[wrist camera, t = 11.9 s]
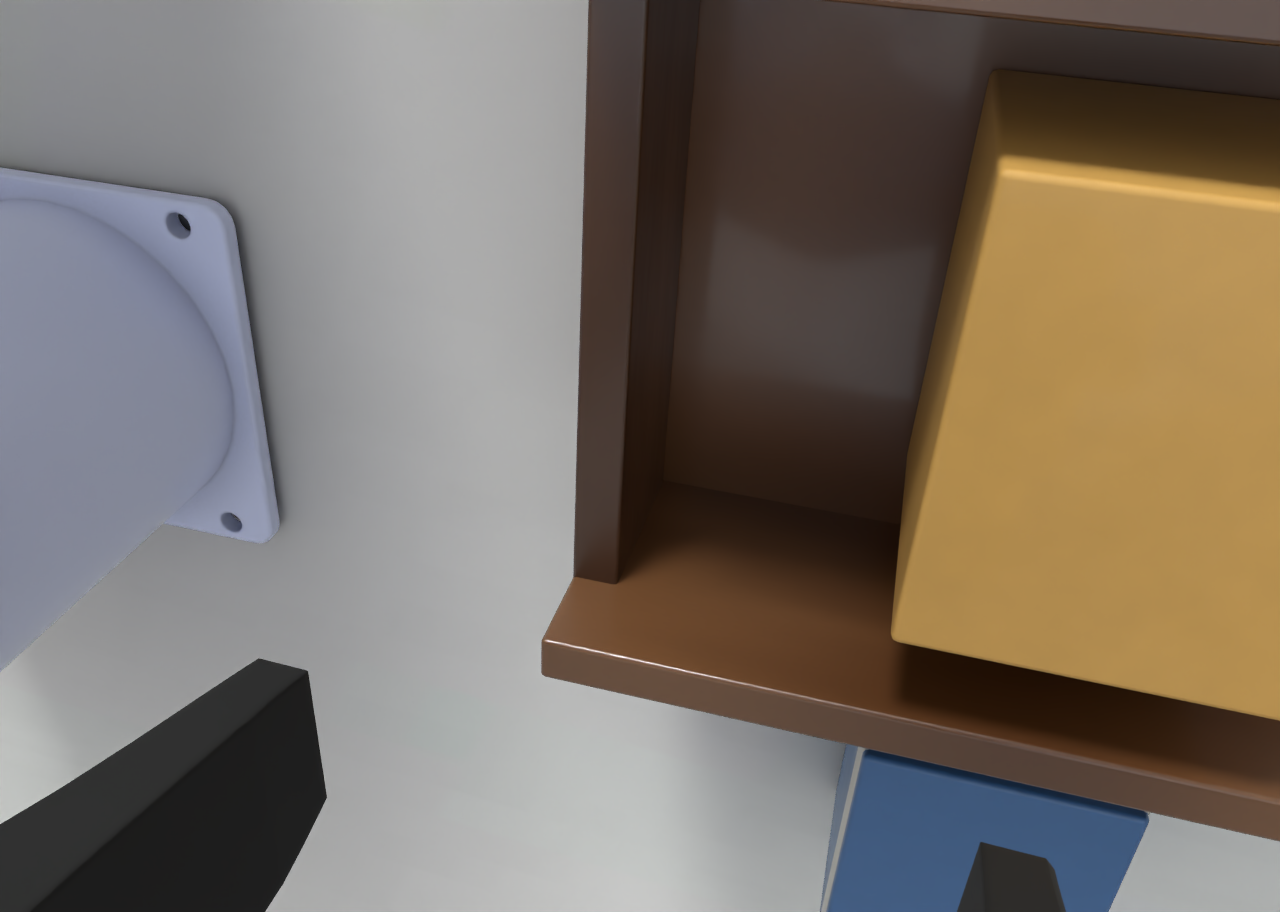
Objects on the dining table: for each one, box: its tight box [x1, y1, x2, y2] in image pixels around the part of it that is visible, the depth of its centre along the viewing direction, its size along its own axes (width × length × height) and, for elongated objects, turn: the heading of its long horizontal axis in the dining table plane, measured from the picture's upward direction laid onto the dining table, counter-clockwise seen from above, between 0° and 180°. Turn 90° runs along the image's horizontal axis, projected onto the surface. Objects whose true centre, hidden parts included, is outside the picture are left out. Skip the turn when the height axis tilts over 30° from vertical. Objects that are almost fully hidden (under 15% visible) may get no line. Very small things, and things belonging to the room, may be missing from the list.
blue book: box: [820, 744, 1149, 912], centre depth 21 cm, size 4×6×5 cm
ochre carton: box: [891, 69, 1280, 721], centre depth 13 cm, size 5×6×5 cm
